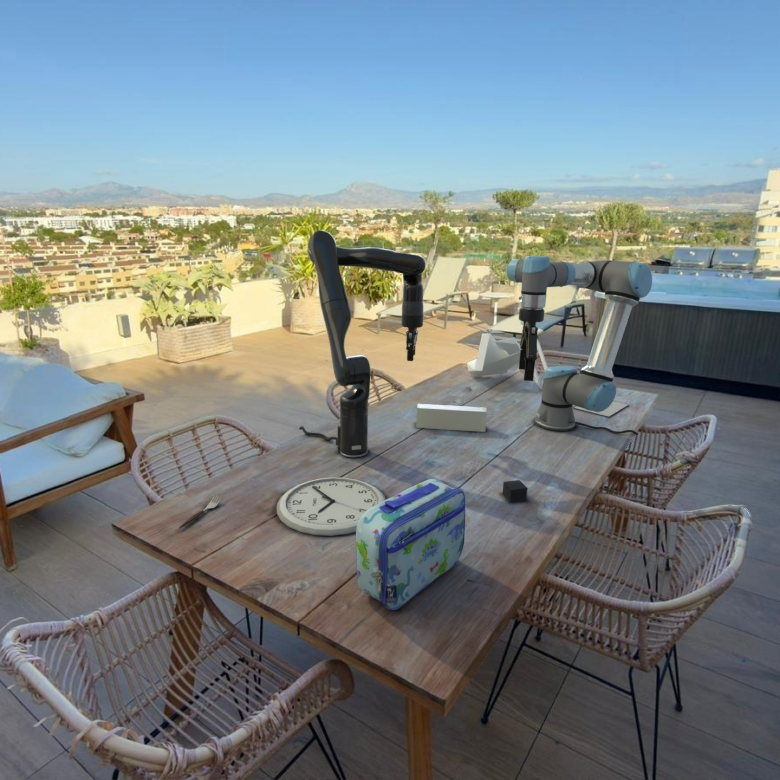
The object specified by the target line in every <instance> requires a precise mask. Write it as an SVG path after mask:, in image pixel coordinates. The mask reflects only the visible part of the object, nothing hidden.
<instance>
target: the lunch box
mask: <svg viewBox="0 0 780 780" xmlns="http://www.w3.org/2000/svg"><path fill="white" fill-rule="evenodd" d="M465 532H466V495H465V492H464V491H463V490H462V489H461V488H453V487H451V486H449V485H447V484H445V483H443V482H442V481H440V480H437V479H435V478H430V479H426V480H424V481H422V482H420V483H417V484H415V485H413V486H411V487H409V488H407V489H405V490H403V491H401V492H399V493H397V494H395V495H393V496H391V497H389V498H386V500H385V501H383V502H381V503H379V504H377V505H375V506H373V507H371V508H369V509H368V510H366V511H365V512H364V513H363V515H362V516H361V518H360V520H359V522H358V525H357V529H356V532H355V551H356V579H357V580H356V581H357V585H358V588H359V590H360V591H361V592H363V593H365V594H366V595H369V596H371V597H372V598H374V599H375V600H376V601H378V602H380V603H381V604H382V606H383V607H384V608H386V609H388V610H391V611H397V610H399V609H401V608H402V607H403V606H405V604H406V603H407V602H409V601H410V600H412V598H414V597H415V596H417V594H419V593H421V592H422V591H423V590H425V588H426V587H428V586H430V585H431V584H432V583H433V582H434V581H435V580H436V579H438V578H439V577H440V576H442V575H444V574H446V572H448V571H450V570H451V569H452V568H453V567H454V566H455V565H456V564H457V563H458V561H459V559H460V558H461V555H462V552H463V549H464V546H465V545H464V544H465V536H466V535H465V534H466V533H465Z"/></svg>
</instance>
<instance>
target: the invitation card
mask: <svg viewBox="0 0 780 780" xmlns="http://www.w3.org/2000/svg"><path fill="white" fill-rule="evenodd" d="M628 406H629V404H627V403H623V402H618V401H614V400H613V402H612V403H611V405H610V406H609V407H608V408H606V409H605V410H604V411H601V412H595V411H589V410H586V409H584V408H581V407H578V406H574V407H573V409H575V410H581V411H584V412H587V413H593V414H596V415H600V416H604V417H608V418H609V417H611V416H613V415H614V414H616V413H617V412H619V411H621V410H623V409H624V408H626V407H628Z"/></svg>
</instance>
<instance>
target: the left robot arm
mask: <svg viewBox="0 0 780 780" xmlns="http://www.w3.org/2000/svg"><path fill="white" fill-rule="evenodd" d="M307 258H308V260H310V262H311V263H312V264H314V266H315V270H316V273H317V274H316V275H317V284H318V285H317V286H318V297H319V304H320V310H321V315H322V317H323V321H324V325H325V329H326V333H327V338H328V343H329V349H330V355H331V363H332V369H333V374H334V379H335V381H336V383H337V384H338V385H339V386H340V387H349V386H350V388H348V389H347V390H346V391H345V392H342V394H341V395H340V396H339V425H337V436H329V437H327V436H326V435H325V434H323V433H320V432H309V431H308V430H306V429H305V427H304V426H303V425H301V426H299V428H298V430H302V432H303V433H304V434H305V435H306V436H307V435H308V436H312V437H313V436H315V437H321V438H323V439H324V440H325V441H328V442H329V441H332V440H333V441H334V440H335V445H336V446H337V453H338V454H339V453H340V455H341V456H343V457H346V458H355V459H356V458H361V457H364V456H366V455H368V453H369V445H368V444H369V398H370V394H371V393H370V391H371V375H372V374H371V363H370V362H369V359H368V357H366V356H365V355H362V354H361V355H360V354H359V355H350V356H347V355H346V349H345V342H346V336H347V333H348V331H349V328H350V325H351V321H352V318H353V317H352V316H353V315H352V314H353V313H352V310H351V304H350V301H349V297H348V293H347V290H346V287H345V283H344V280H343V277H342V273H341V270H340V267H355V268H356V267H357V268H365V269H370V270H371V269H372V270H377V271H378V270H379V271H384V272H394V273H399V274H401V275H402V282H403V287H402V302H401V303H402V304H401V326H402V327H403V328H407V330H406V331H405V344H406V347H405V350H406V361H407V362H413V361H414V358H415V357H414V356H416V346H417V341H418V336H419V331H418V329H419V328H422V327H423V325H424V286H423V273H424V271H425V270H426V265H427V264H426V261H425V259H424V258H423V257H422V256H421V255H419V254H416V253H406V252H399V251H395V250H391V249H385V248H381V247H361V248H346V247H342V246H341V247H340V246H338V245H337V243H336V240H335V237H334V236H333V235H332V234H331V233H330V232H328V231H326V230H323V229H319V230H316V231H314V232H313V233H312V234H311V235H310V237H309V239H308V240H307Z"/></svg>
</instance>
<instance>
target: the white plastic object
mask: <svg viewBox="0 0 780 780" xmlns="http://www.w3.org/2000/svg"><path fill="white" fill-rule="evenodd" d="M520 308H521V306H519V307H517V311H518V312H519V309H520ZM521 323H522V324H523V321H521ZM480 337H481V338H480V342H479V346H478V347H479V348H478V351H477V355H476V358H475V359H473V360H470V361H468V362H466V365H467V369H468V373H469V374H470V375H471V376H472V377H473V378H476V377H483V376H491V375H492V376H493V375H498V376H501V375H504V374H507V373H508V372H509V370H510V369H512V368H513V367H514V366H516V365H518V364H519V360H520V350H522V349H521V348H520V342H519V341H517V338H516V337H515V336H513V337H508V338H504V339H499V340H496V339H495V338H494V336H493V335H492V334H491V333H490V332H489V333H487V332H486V333H481V336H480ZM543 351H544V350H543V348H542V346H541V343H540V340H539V339H538V338H537V353H538V355H539V358H540V360H541V364H542V367H543V369H544V371H545V370H546V369H547V368H549V366H548V363H547V359H546V357H545V354H544V352H543ZM533 380H534V382H535V384H536V385H537V386H538V388H539V389H540V390H543V385H542V382H541V380H540V377H539V374H538V371H537V368H536V366H535V367H534V377H533Z"/></svg>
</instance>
